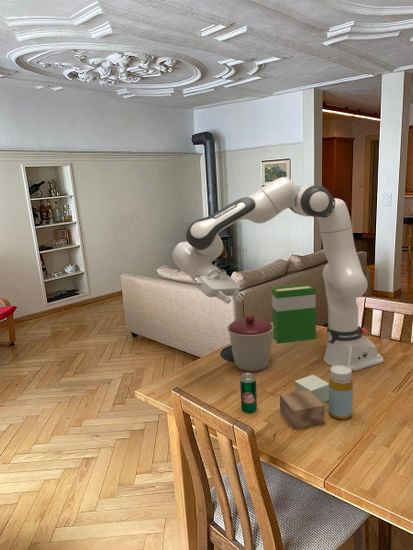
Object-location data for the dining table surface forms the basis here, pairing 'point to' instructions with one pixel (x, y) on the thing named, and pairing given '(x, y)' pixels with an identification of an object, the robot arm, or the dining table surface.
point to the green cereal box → (294, 313)
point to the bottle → (340, 392)
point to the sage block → (314, 387)
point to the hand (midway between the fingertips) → (235, 301)
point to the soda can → (248, 393)
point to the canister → (251, 342)
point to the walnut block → (302, 409)
